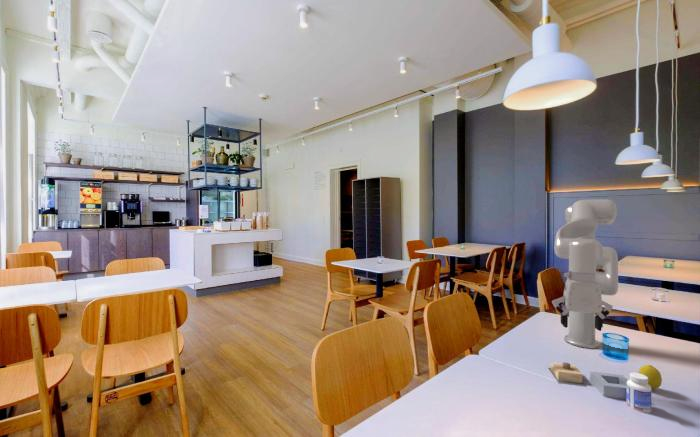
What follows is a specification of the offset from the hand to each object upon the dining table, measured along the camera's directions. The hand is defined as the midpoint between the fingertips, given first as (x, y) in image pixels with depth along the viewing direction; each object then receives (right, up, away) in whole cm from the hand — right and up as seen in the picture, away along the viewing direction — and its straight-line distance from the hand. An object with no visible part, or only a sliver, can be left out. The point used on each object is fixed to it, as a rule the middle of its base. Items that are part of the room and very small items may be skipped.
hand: (581, 327), depth 110 cm
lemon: (+18, -18, -5) cm, 26 cm away
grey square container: (+5, -18, -7) cm, 20 cm away
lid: (-4, -17, +2) cm, 18 cm away
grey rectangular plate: (-4, -18, +2) cm, 18 cm away
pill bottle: (+6, -19, -15) cm, 25 cm away
